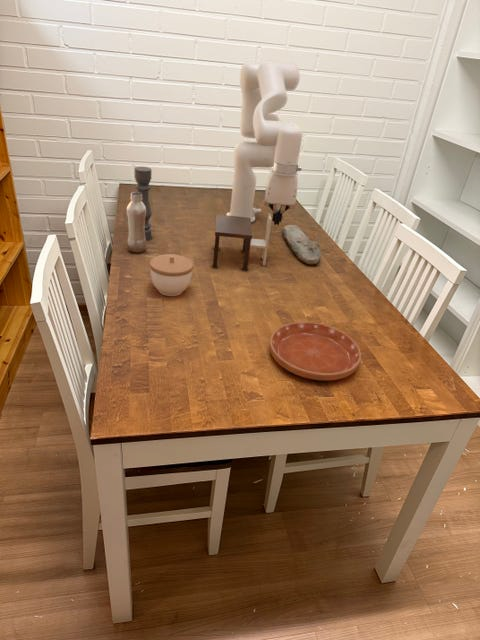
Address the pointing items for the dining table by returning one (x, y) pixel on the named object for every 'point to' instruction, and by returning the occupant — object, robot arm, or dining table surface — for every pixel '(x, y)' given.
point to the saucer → (315, 351)
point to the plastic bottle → (136, 223)
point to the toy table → (233, 234)
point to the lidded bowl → (171, 273)
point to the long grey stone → (302, 245)
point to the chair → (263, 243)
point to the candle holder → (144, 194)
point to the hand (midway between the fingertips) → (276, 223)
